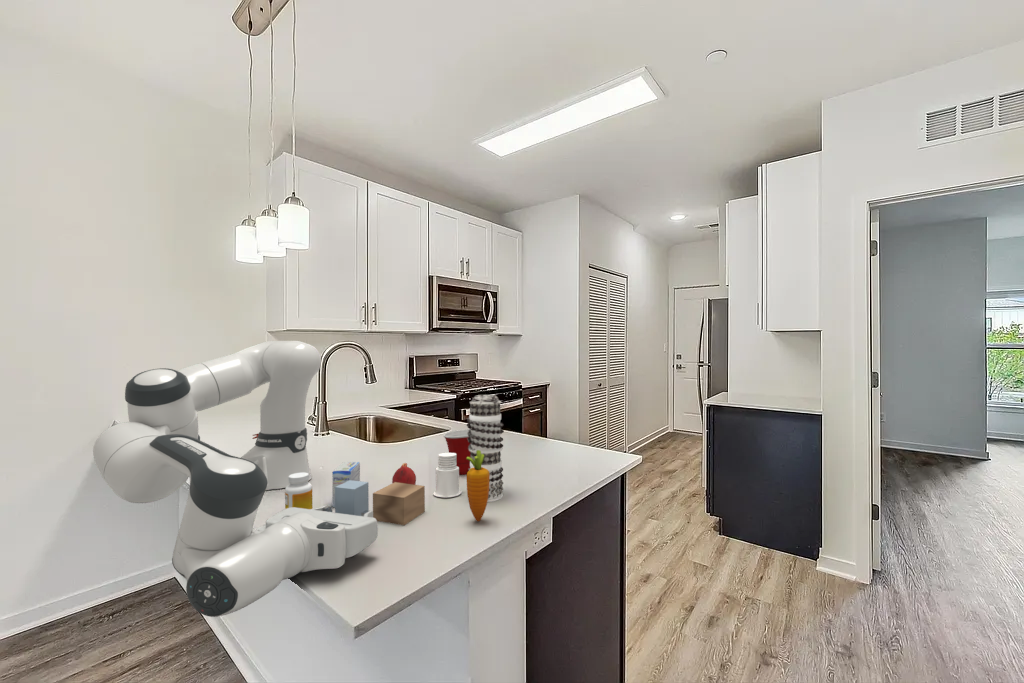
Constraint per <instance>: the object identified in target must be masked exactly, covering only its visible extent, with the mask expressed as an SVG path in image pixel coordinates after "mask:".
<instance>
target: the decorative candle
mask: <svg viewBox="0 0 1024 683" xmlns="http://www.w3.org/2000/svg"><path fill="white" fill-rule="evenodd" d="M501 404H502V401H501V400H500V399H499V397H498V396H497V395H495V394H478V395H474V396H473V398H472V399H471V401H469V416H468V418H467V419H466V421H467V423H466V427H467V429H470V430H469V431H468V433H467V434H468V436H469V438H468V439H467V440H468V442H469V443H471V444H469V446H468V448H469V451H470V452H471V453H470V457H471V458H472V459H473V460H475V456H477V453H476V451H477V450H480V451H481V454H483V455H484V459H483V462H482V465H481V467H483V468H485V469H487V470H488V471H489V474H490V476H489V495H488V501H487V503H492V502H497V501H499V500H501V499H502V498H503V497H504V494H503V491H504V488H503V485H504V481H503V480H502V479H503V477H504V474H503V471H504V468H503V466H502V463H503V462H502V461H503V460H502V458H501V456H502V454H501V451H503V447H504V444H502V443H501V442H503V441H504V438H503V437H502V436H501V435H502V434H503V433H504V429H502V428H503V427H504V423H503V422H501V420H502V412H501ZM471 468H474V466H473V464H472V463H471V462H470V468H469V469H468V471H469V470H470V469H471Z"/></svg>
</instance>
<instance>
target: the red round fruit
mask: <svg viewBox="0 0 1024 683" xmlns="http://www.w3.org/2000/svg"><path fill="white" fill-rule="evenodd" d="M416 481H417V475H416V473H415V472H414V470H413V469H412V468H410V467H409V466H408V463H406V462H404V463H402V464H401V466H400V467H399V468H398V469H396V470H395V472H394V473H393V476H392V479H391V482H392V483H394V482H398V483H405V484H413V485H417V484H416V483H417V482H416ZM392 483H391V484H392Z"/></svg>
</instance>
